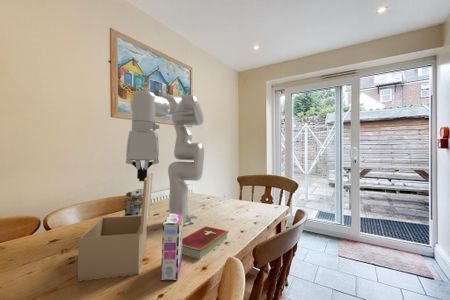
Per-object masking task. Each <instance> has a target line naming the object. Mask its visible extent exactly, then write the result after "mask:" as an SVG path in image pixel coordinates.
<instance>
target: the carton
mask: <svg viewBox="0 0 450 300" xmlns="http://www.w3.org/2000/svg"><path fill="white" fill-rule="evenodd" d="M147 224H148V223H147ZM147 224H146V226H145V229H144V232H143V234H140V226H141V214H140V215H137V216H133V215H132V216H124V215H122V216H121V215H120V216H101V217H100V218H99V219H98V220H96V222H95V223H94V224H92V226H90V227H89V229H86V231H85V232H84V233H83V234H82V235H81V236H80V237H78V250H77V251H78V253H77V257H78V258H77V282H81V281H82V280H85V281H91V280H93V279H94V280H102V278H103V279H109V278H110V277H112V278H119V277H118V276H121V277H127V276H126V275H129V276H134V275H133V274H138V273H139V274H140V269H141V267H140V266H142V262H143V259H144V256H145V252H146V247H147V231H148V230H147V228H148V227H147ZM139 274H138V275H139Z"/></svg>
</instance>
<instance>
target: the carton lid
mask: <svg viewBox="0 0 450 300" xmlns="http://www.w3.org/2000/svg"><path fill="white" fill-rule="evenodd" d="M153 174H154V173H153V172H150V173H149V174H147V177H146V178H145V179H144V181H143V188H142V189H143V196H142V201H141V202H142V205H141V206H142V208H141V212H140V215H141V226H140V234H143V232H144V229H145V226H146V224H148V220H149V218H150V213H151V211H150V210H151V201H152V199H151V198H152V190H153V189H152V188H153Z"/></svg>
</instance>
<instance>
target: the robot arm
mask: <svg viewBox="0 0 450 300" xmlns="http://www.w3.org/2000/svg"><path fill="white" fill-rule="evenodd" d="M130 111H131V112H132V113H131V130H129V132H128V137H127V143H126V155H125V156H126V159H125V163H126V164H127V165H132V166H133V167H134V168H135V169H136V170H137V177H136V178H137V179H138V182H144V179H145V178H146V177H147V176H148V170H149V168H150V167H151V166H153V165H154V166H155V165H158V164H159V162H160V161H159V160H160V159H159V155H160V154H159V153H160V151H159V134H158V132H156V130H160V124H157V123H156V118H164V117H167V116H168V115H169V116H170V115H171V121H172V124H173V127H174V129H175V133H176V134H175V135H176V139H175V142H174V143H175V144H174V151H173V153H174V155H173V156H174V158H175V159H176V160H178V161H173V162H171V163H170V164H168V168H167V173H168V179H169V180H168V181H169V199H168V200H169V201H168V202H169V205H168V207H169V208H168V209H169V211H168V215H169V214H174V213H180V214H183V227H186V226H188V225H190V224H191V223H192V222H191V221H192V220H197V219H198V215H197V214H190V212H189V186H188V184H187V183H186V181H189V182H190V181H193V182H194V181H196V182H197V181H200V180H201V178H202V176H203V168H204V158H205V147H204V145H203V143H201V142H192V141H193V134H192V132H191V131H190V129H189V128H188V126H201V125H202V124H203V123H204V112H203V110H202V107H201V104H200V101H199V99H198V98H197V97H196V96H195V95H194V94H165V95H155V94H154V92H152V91H148V90H143V89H142V90H136V91H134V92H133V93H132V101H131V103H130ZM141 161H144V163H143V164H144V165H143V167H142V163H141Z"/></svg>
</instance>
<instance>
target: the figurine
mask: <svg viewBox="0 0 450 300" xmlns="http://www.w3.org/2000/svg"><path fill="white" fill-rule="evenodd" d="M125 196H126V197H128V198H126V199H125V200H124V201H123V207H125V208H124V215H123V216H137V215H141V210H142V201H141V200H140V197H143V188H138V189H134V190H131V191H128V192H127V193H125ZM129 198H131V199H129Z"/></svg>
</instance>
